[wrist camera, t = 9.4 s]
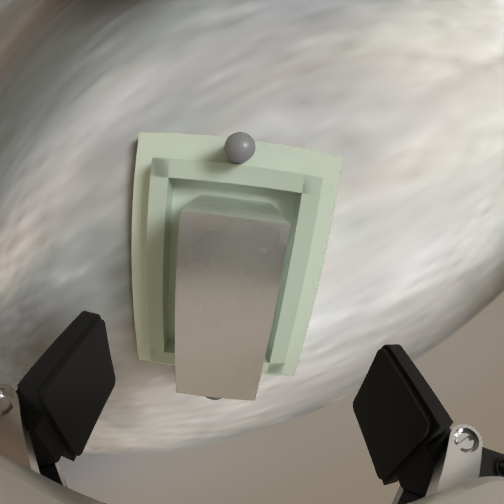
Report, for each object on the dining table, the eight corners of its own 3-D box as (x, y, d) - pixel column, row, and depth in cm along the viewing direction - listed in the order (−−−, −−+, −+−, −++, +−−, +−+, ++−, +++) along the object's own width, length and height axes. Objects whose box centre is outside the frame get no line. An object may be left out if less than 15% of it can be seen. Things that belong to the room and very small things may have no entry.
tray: (336, 157, 16) (364, 155, 12) (291, 367, 21) (301, 403, 17) (144, 134, 15) (119, 126, 11) (142, 352, 20) (127, 385, 16)
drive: (272, 203, 16) (292, 224, 10) (250, 336, 18) (255, 400, 13) (200, 194, 15) (179, 210, 10) (190, 329, 18) (175, 392, 12)
